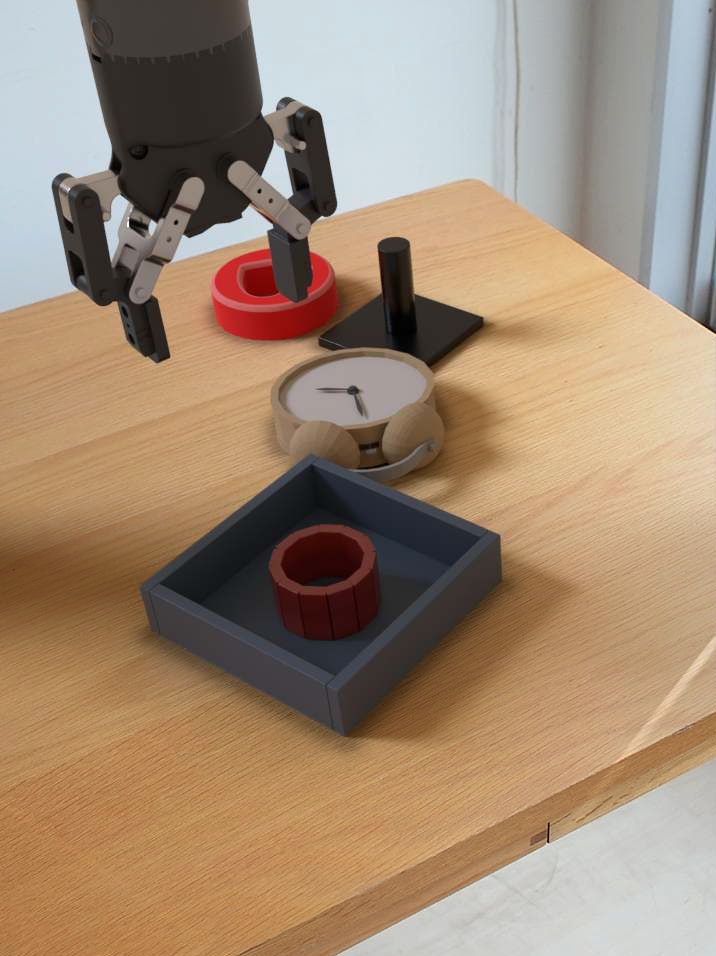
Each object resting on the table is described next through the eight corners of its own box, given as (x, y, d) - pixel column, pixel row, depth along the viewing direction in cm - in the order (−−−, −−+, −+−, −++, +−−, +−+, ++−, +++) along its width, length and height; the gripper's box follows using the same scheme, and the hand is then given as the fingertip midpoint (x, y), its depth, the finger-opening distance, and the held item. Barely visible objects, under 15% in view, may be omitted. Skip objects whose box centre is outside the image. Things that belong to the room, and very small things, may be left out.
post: (319, 348, 100) (306, 254, 95) (392, 296, 106) (384, 205, 101) (412, 383, 96) (404, 287, 91) (484, 328, 102) (480, 234, 97)
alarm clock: (415, 335, 96) (462, 418, 83) (422, 397, 98) (469, 487, 85) (260, 361, 94) (284, 450, 81) (271, 424, 96) (296, 520, 83)
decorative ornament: (240, 276, 109) (233, 242, 107) (352, 284, 108) (348, 249, 106) (198, 338, 102) (191, 302, 100) (318, 347, 100) (313, 311, 98)
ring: (256, 614, 77) (247, 568, 75) (324, 557, 81) (317, 511, 78) (335, 655, 74) (328, 609, 72) (401, 593, 78) (396, 547, 76)
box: (152, 637, 77) (138, 585, 74) (318, 503, 86) (310, 452, 83) (346, 744, 70) (337, 691, 67) (503, 586, 79) (500, 534, 76)
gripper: (255, -35, 66) (297, 255, 76) (-16, 40, 59) (71, 348, 69) (342, 1, 61) (375, 303, 72) (60, 86, 55) (141, 408, 65)
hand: (225, 325), depth 70 cm, fingers open, 8 cm apart
